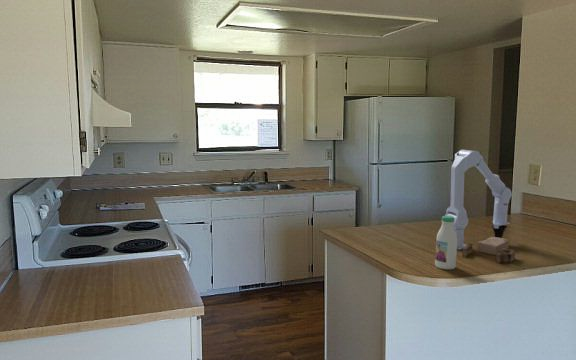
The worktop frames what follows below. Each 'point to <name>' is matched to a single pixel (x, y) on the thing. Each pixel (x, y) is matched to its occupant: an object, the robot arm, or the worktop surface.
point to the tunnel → (503, 256)
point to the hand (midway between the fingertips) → (498, 240)
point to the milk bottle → (446, 244)
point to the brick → (492, 245)
